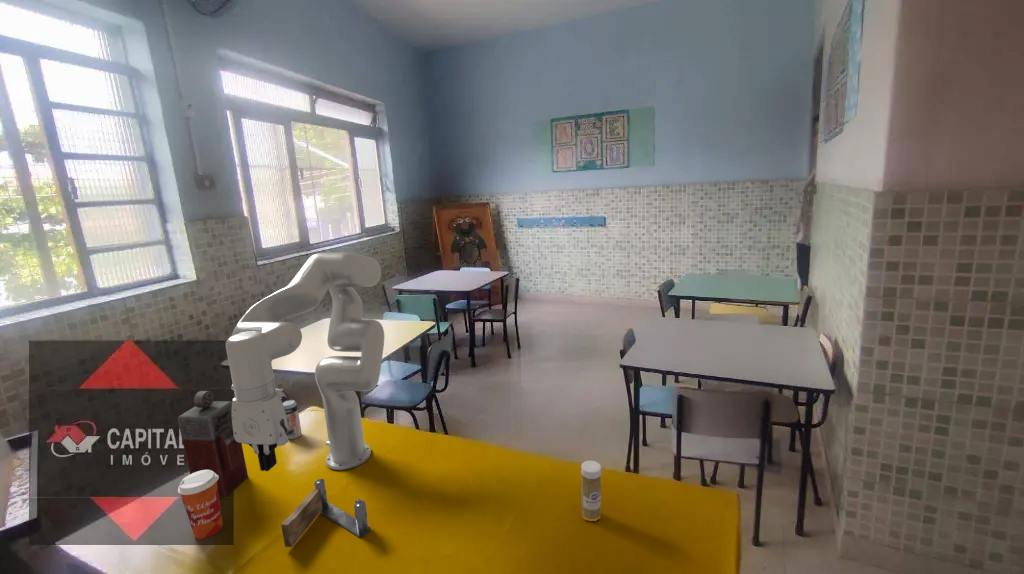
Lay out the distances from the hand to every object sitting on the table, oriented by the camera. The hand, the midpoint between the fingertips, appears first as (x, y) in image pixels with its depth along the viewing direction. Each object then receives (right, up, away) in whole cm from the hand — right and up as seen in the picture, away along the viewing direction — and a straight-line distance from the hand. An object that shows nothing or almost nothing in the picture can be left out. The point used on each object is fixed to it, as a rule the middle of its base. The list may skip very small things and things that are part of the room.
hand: (268, 467), depth 98 cm
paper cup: (-18, -18, +8) cm, 27 cm away
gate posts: (+13, -16, +9) cm, 23 cm away
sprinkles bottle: (+72, -15, +7) cm, 74 cm away
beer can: (-18, -9, +47) cm, 51 cm away
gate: (+5, -17, +6) cm, 18 cm away
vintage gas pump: (-24, -15, +24) cm, 37 cm away
